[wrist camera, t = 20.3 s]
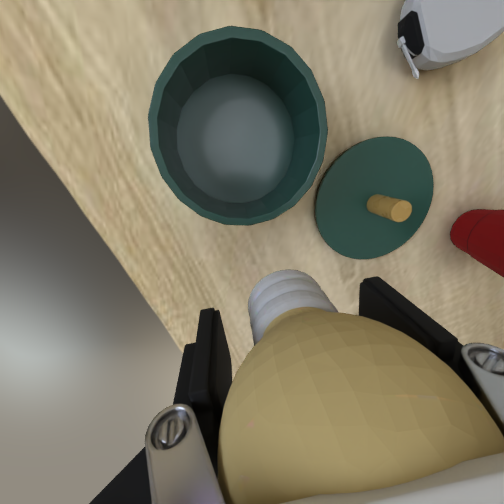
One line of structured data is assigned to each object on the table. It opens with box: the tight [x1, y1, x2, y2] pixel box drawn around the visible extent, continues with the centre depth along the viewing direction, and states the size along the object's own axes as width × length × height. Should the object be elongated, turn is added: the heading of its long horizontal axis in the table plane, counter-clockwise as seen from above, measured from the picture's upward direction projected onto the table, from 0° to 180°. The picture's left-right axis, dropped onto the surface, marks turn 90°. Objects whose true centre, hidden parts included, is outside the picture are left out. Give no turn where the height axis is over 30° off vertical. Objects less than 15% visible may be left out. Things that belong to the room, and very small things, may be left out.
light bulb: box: [217, 270, 504, 504], centre depth 8 cm, size 6×6×10 cm
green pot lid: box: [315, 137, 433, 259], centre depth 29 cm, size 16×16×6 cm
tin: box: [148, 26, 328, 225], centre depth 24 cm, size 15×15×8 cm
